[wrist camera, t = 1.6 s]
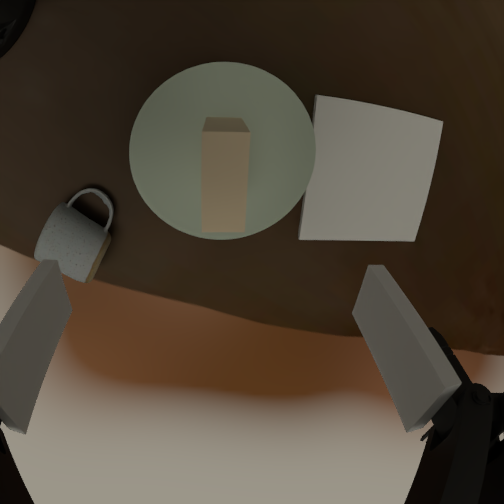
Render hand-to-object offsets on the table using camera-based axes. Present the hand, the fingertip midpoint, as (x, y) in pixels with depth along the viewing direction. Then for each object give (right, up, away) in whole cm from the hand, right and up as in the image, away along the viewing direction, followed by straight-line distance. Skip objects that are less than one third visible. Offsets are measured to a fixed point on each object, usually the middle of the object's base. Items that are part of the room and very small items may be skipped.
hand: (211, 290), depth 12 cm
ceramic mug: (-20, +6, +24) cm, 31 cm away
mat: (+17, +11, +24) cm, 32 cm away
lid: (-1, +11, +15) cm, 19 cm away
